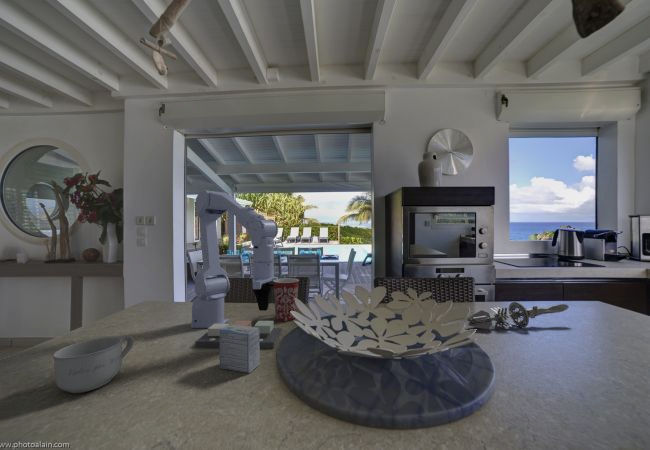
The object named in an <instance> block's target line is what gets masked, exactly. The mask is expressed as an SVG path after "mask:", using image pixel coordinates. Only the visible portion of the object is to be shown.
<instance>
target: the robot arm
mask: <svg viewBox="0 0 650 450" xmlns="http://www.w3.org/2000/svg"><path fill="white" fill-rule="evenodd" d="M195 207H196V209H195V210H196V215H197V217H198V220H199V221H198V222H199V232H200V244H201V255H202V256H201V259H202V270H200V271H199V272H198V273H197V274H196V275H195V284H194V293H195V295H196V296H197V297H196V298H194V299H193V301H192V305H191V325H190V329H191V328H193V329H197V328H198V329H202V328H203V329H208V328H209V327H211V326H212V325H213V324H227V322H228V321H230V320H229V318H225V297H227V293H228V292H229V291H230V288H231V283H230V280H229V277H228V272H227V270H225V269H224V268H222V266H221V261H220V250H219V249H220V248H219V239H218V231H217V230H218V229H217V228H218V227H217V220H218V219H219V218H222V217H223V216H224V215H225V214H226V213H227V212H229V213H230V214H231V215H233V216H235V220H236V222H237V223H238V224H239V225H241V227H243V228H244V229H245V230H247V231H248V236H249V237H250V239H251V241H250V242H251V245H252V270H253V271H252V276H253V277H252V278H251V280H252V286H251V290H252V291H253V293H254V295H255V297H256V302H257V307H258V310H259V311H268V309H269V305H270V300H271V295H272V292H273V291H274V285H275V284H274V282H273V280H277V279H279V277H278V276H275V270H274V264H275V263H274V261H275V259H274V257H275V256H274V255H275V249H274V247H275V245H274V243H275V241H274V240H275V238H276V237H277V235H278V233H279V226H278V224H277V223H276V221H275V219H271V218H270V219H269V218H268V219H266V218H265V216H264V215H263V214H259V213H258V212H256V210H255V208H254V207H253V206H243V205H241V204H240V203H239V202H238V201H237V200H236V199H234V197H233V195H232V194H230V193H229V192H224V191H223V192H222V191H212V190H207V189H201V190H200V191H198V193H197V196H196V198H195Z"/></svg>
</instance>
